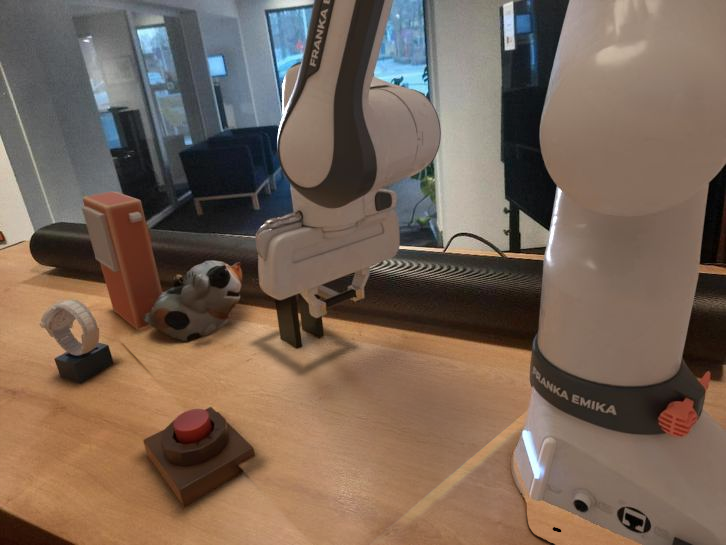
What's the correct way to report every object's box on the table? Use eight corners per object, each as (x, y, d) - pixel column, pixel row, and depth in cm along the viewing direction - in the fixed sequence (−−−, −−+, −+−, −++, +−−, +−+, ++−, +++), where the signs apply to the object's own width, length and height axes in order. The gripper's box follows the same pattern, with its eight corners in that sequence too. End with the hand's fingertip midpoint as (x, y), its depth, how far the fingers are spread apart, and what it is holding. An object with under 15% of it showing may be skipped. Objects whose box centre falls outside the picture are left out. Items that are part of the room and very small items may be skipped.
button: (217, 432, 52) (215, 418, 51) (185, 449, 50) (181, 435, 49) (203, 417, 54) (200, 404, 54) (171, 433, 52) (167, 419, 52)
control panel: (143, 298, 96) (176, 320, 86) (105, 310, 92) (135, 336, 81) (116, 189, 88) (148, 199, 78) (73, 197, 84) (101, 209, 74)
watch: (86, 355, 76) (65, 290, 72) (121, 365, 73) (102, 297, 69) (51, 374, 72) (27, 306, 68) (87, 386, 68) (64, 315, 64)
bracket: (351, 347, 74) (344, 267, 69) (301, 371, 68) (290, 287, 63) (304, 322, 82) (295, 249, 77) (257, 342, 77) (244, 265, 72)
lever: (356, 302, 66) (355, 285, 65) (326, 315, 63) (325, 298, 62) (304, 277, 74) (302, 263, 73) (275, 288, 71) (273, 272, 70)
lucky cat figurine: (183, 307, 90) (209, 238, 88) (238, 337, 88) (267, 267, 86) (126, 323, 76) (155, 241, 73) (191, 359, 74) (223, 276, 71)
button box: (256, 464, 52) (251, 433, 51) (184, 507, 48) (175, 475, 46) (214, 421, 59) (208, 393, 58) (147, 455, 55) (138, 426, 53)
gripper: (269, 228, 51) (284, 345, 56) (406, 190, 63) (408, 289, 69) (239, 218, 56) (256, 327, 61) (372, 185, 68) (377, 277, 73)
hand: (338, 306), depth 65 cm, fingers closed on lever, 5 cm apart
